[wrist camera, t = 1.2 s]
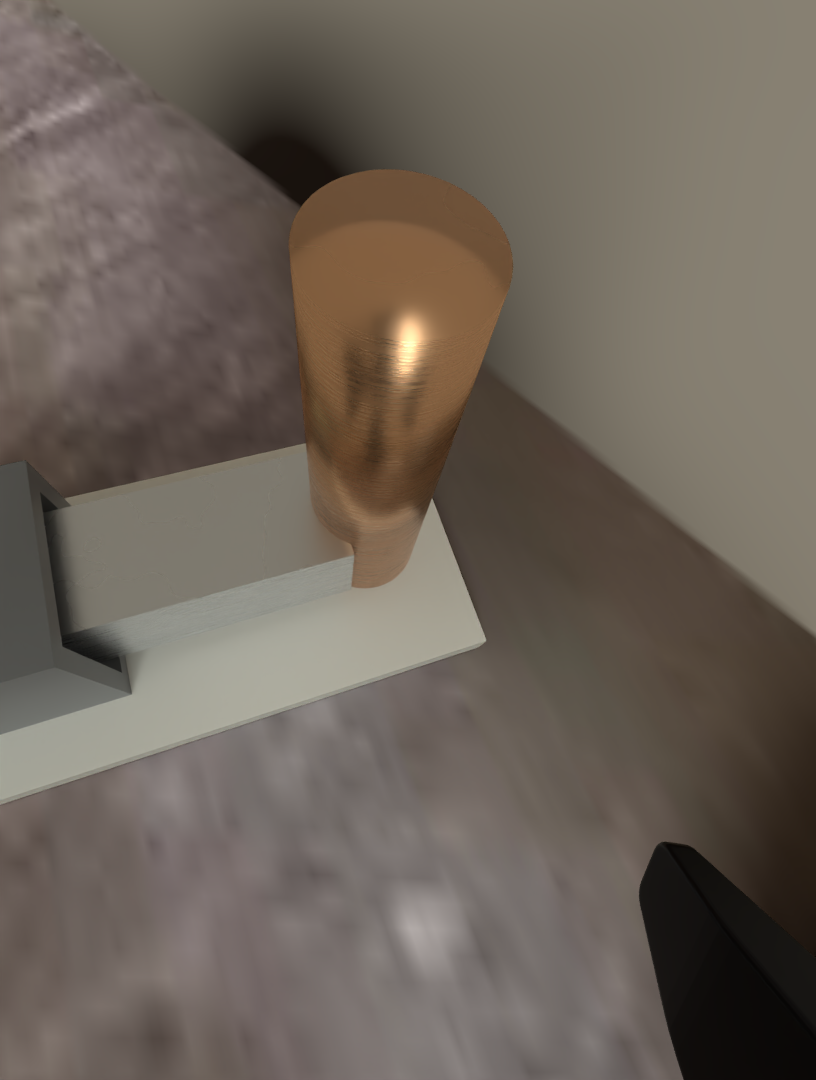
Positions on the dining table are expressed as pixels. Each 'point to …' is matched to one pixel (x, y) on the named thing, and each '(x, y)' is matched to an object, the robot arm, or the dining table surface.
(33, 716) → the tube stand
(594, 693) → the dining table surface
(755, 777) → the dining table surface
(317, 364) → the tube
